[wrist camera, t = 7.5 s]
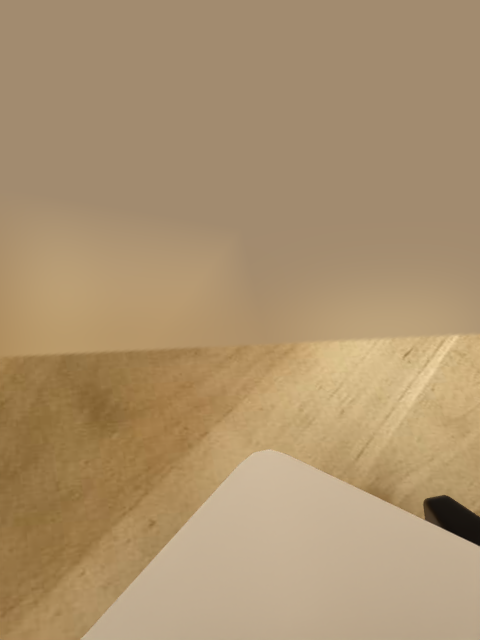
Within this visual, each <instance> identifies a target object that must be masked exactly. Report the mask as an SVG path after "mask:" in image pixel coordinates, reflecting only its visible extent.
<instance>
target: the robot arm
mask: <svg viewBox="0 0 480 640" xmlns="http://www.w3.org/2000/svg"><path fill="white" fill-rule="evenodd" d="M423 506H424V514H425V521H428V522H430V523H432V524H434V525H436V526H438V527H440V528H442V529H444V530H446V531H448V532H451V533H453V534H455V535H457V536H459V537H461V538H463V539H465V540H467V541H469V542H472V543H474V544H476V545H478V546H480V517H479V516H478V515H476V514H475V513H473V512H472V511H470V510H469V509H467V508H466V507H464V506H463V505H461V504H460V503H458V502H457V501H455V500H454V499H452V498H451V497H449V496H446V495H441V496H437V497H432V498H427V499H425V500H424V504H423Z"/></svg>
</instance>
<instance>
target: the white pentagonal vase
mask: <svg viewBox="0 0 480 640" xmlns="http://www.w3.org/2000/svg"><path fill="white" fill-rule="evenodd" d="M81 640H480V546H478V545H476V544H474V543H472V542H469V541H467V540H465V539H463V538H461V537H459V536H457V535H455V534H453V533H451V532H448V531H446V530H444V529H442V528H440V527H438V526H436V525H434V524H432V523H430V522H428V521H425V520H423V519H421V518H419V517H417V516H415V515H413V514H411V513H409V512H407V511H405V510H402V509H400V508H398V507H396V506H394V505H392V504H390V503H388V502H386V501H384V500H381V499H379V498H377V497H375V496H373V495H371V494H369V493H367V492H365V491H363V490H361V489H358V488H356V487H354V486H352V485H350V484H348V483H346V482H344V481H342V480H340V479H338V478H335V477H333V476H331V475H329V474H327V473H325V472H323V471H321V470H319V469H317V468H314V467H312V466H310V465H308V464H306V463H304V462H302V461H300V460H298V459H296V458H294V457H291V456H289V455H287V454H284V453H281V452H277V451H273V450H270V449H268V450H264V451H259V452H254V453H253V454H251V455H250V456H249V457H247V458H246V459H245V460H244V461H242V462H241V463H240V464H239V465H238V466H237V467H236V468H235V469H234V470H233V471H232V473H231V474H230V475H229V476H228V477H227V478H226V479H225V480H224V481H223V483H222V484H221V485H220V486H219V487H218V488H217V489H216V490H215V491H214V492H213V494H212V495H211V496H210V497H209V498H208V499H207V500H206V501H205V502H204V504H203V505H202V506H201V507H200V508H199V509H198V510H197V511H196V512H195V513H194V515H193V516H192V517H191V518H190V519H189V520H188V521H187V522H186V523H185V525H184V526H183V527H182V528H181V529H180V530H179V531H178V532H177V533H176V535H175V536H174V537H173V538H172V539H171V540H170V541H169V542H168V543H167V544H166V546H165V547H164V548H163V549H162V550H161V551H160V552H159V553H158V554H157V556H156V557H155V558H154V559H153V560H152V561H151V562H150V563H149V564H148V565H147V567H146V568H145V569H144V570H143V571H142V572H141V573H140V574H139V575H138V577H137V578H136V579H135V580H134V581H133V582H132V583H131V584H130V585H129V586H128V588H127V589H126V590H125V591H124V592H123V593H122V594H121V595H120V596H119V598H118V599H117V600H116V601H115V602H114V603H113V604H112V605H111V606H110V608H109V609H108V610H107V611H106V612H105V613H104V614H103V615H102V616H101V617H100V619H99V620H98V621H97V622H96V623H95V624H94V625H93V626H92V627H91V629H90V630H89V631H88V632H87V633H86V634H85V635H84V636H83V637H82V638H81Z"/></svg>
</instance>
